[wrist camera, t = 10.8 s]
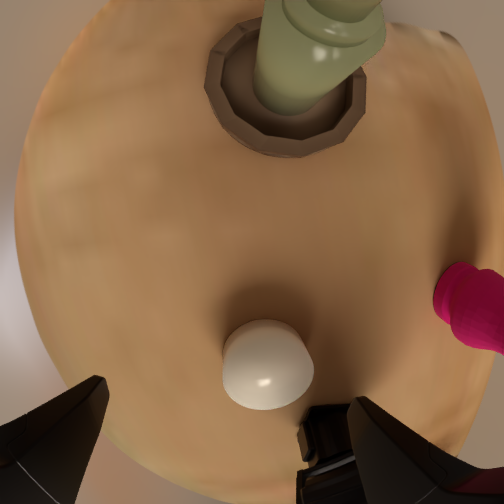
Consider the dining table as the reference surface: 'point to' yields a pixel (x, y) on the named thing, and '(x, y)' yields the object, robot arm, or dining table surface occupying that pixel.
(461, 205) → the dining table surface
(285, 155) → the tray
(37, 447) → the robot arm
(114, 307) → the dining table surface
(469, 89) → the dining table surface
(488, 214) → the dining table surface
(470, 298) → the pepper mill
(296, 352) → the white rounded puck
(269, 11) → the bottle
